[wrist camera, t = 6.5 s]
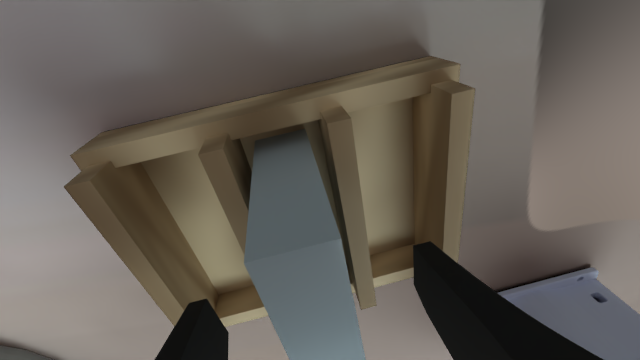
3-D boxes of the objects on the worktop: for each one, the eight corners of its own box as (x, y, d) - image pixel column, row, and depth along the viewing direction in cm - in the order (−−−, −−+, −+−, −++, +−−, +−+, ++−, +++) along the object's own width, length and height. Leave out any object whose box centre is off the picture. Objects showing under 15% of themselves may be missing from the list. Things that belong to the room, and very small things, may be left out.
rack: (430, 56, 12) (485, 70, 9) (427, 241, 18) (460, 289, 15) (101, 132, 12) (42, 175, 9) (207, 299, 17) (194, 360, 14)
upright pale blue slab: (305, 128, 12) (341, 238, 6) (334, 257, 16) (373, 396, 11) (255, 140, 12) (244, 263, 6) (297, 267, 16) (314, 412, 10)
